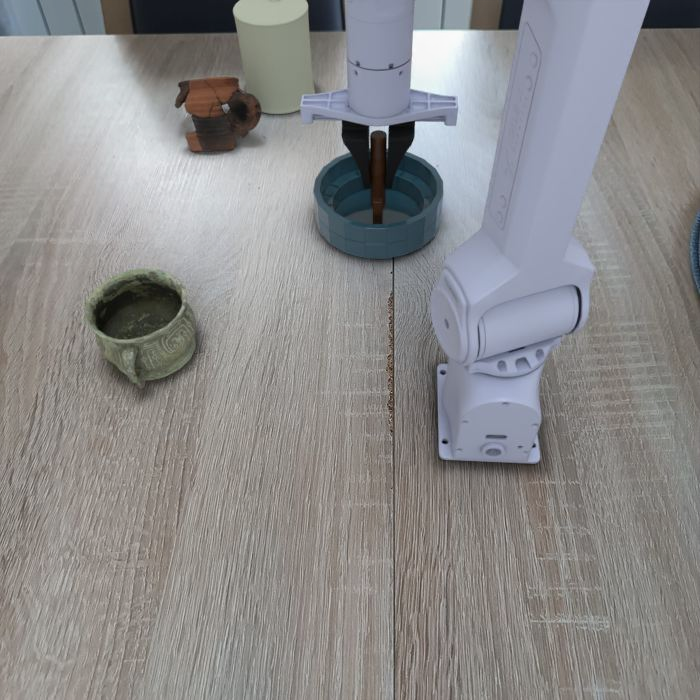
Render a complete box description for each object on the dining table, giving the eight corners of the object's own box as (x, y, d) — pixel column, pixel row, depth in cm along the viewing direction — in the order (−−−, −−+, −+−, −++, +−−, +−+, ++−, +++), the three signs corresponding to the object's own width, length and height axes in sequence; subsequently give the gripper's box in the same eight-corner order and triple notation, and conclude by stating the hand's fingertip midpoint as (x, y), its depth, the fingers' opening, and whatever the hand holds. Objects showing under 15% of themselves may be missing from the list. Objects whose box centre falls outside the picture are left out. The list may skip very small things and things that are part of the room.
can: (319, 79, 90) (313, -14, 81) (309, 115, 85) (302, 21, 75) (254, 77, 91) (240, -15, 82) (240, 113, 85) (223, 19, 76)
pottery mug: (166, 154, 81) (154, 82, 78) (212, 147, 89) (203, 82, 86) (247, 150, 76) (237, 73, 73) (289, 143, 84) (281, 73, 81)
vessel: (121, 302, 65) (100, 255, 60) (210, 300, 64) (197, 253, 60) (92, 403, 57) (65, 359, 52) (192, 401, 57) (176, 356, 52)
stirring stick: (384, 225, 70) (386, 143, 62) (369, 224, 70) (369, 143, 62) (385, 207, 72) (387, 125, 64) (371, 207, 72) (370, 125, 64)
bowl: (441, 263, 67) (444, 230, 63) (310, 260, 68) (307, 226, 64) (438, 182, 75) (441, 148, 72) (322, 180, 76) (320, 147, 72)
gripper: (461, 32, 59) (447, 160, 70) (301, 32, 60) (312, 158, 71) (464, 72, 55) (449, 203, 65) (292, 71, 56) (305, 200, 66)
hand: (378, 182), depth 68 cm, fingers closed on stirring stick, 2 cm apart
